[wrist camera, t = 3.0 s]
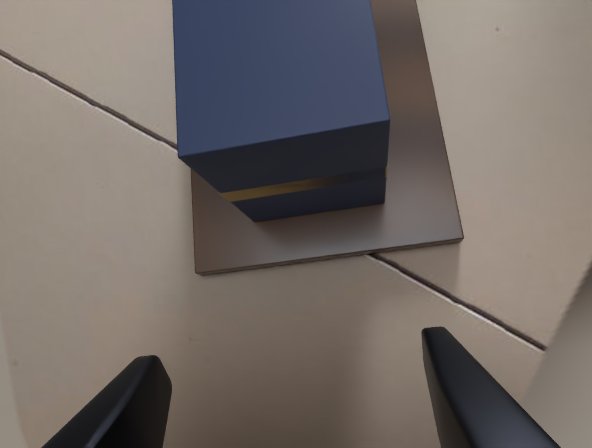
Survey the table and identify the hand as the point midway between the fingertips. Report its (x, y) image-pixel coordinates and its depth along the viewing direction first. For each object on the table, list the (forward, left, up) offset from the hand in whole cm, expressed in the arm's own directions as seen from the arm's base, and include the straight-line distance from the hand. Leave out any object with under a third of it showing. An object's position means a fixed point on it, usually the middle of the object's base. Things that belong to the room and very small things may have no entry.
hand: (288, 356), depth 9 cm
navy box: (+5, +9, -10) cm, 14 cm away
